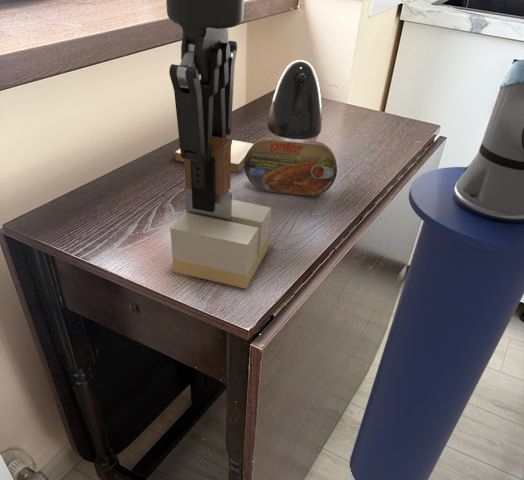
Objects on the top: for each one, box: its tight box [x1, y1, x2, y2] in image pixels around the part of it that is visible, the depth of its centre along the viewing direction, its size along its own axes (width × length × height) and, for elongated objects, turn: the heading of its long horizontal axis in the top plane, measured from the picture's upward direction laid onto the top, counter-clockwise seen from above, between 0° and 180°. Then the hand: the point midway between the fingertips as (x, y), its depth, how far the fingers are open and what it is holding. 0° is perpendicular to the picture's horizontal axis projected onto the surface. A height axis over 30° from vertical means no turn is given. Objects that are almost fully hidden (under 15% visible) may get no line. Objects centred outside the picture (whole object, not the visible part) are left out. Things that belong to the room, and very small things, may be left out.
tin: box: [243, 136, 338, 197], centre depth 83 cm, size 15×3×8 cm, turn 82°
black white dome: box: [267, 59, 323, 141], centre depth 94 cm, size 10×10×15 cm
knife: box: [183, 136, 233, 222], centre depth 63 cm, size 6×2×14 cm, turn 73°
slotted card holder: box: [169, 199, 272, 290], centre depth 67 cm, size 10×10×6 cm
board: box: [174, 139, 254, 173], centre depth 93 cm, size 12×10×2 cm
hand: (208, 203), depth 64 cm, fingers closed on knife, 2 cm apart
